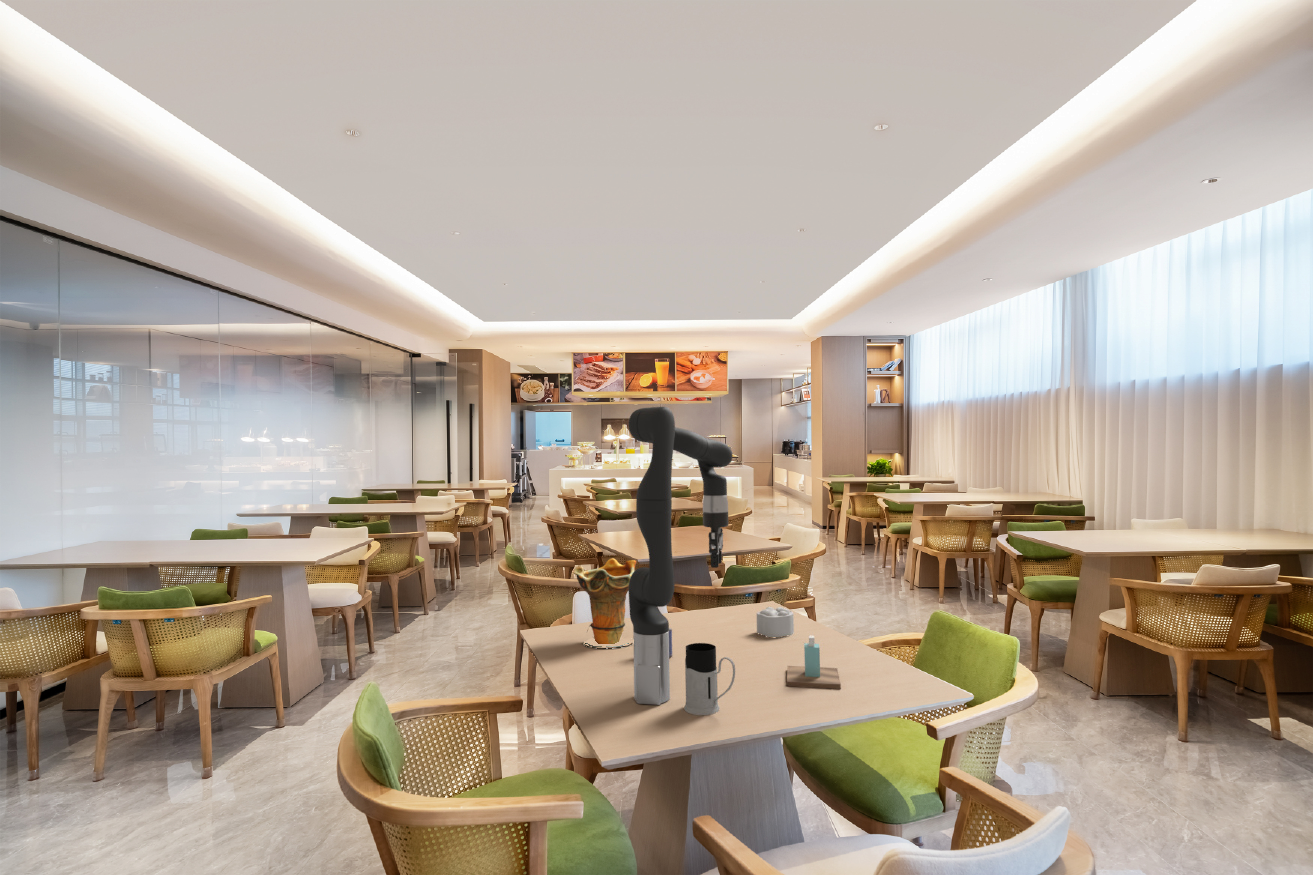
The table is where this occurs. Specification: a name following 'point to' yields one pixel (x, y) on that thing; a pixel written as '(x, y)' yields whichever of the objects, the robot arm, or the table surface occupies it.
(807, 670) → the teal bottle
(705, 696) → the glass holder
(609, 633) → the decorative vase
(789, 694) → the table surface
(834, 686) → the walnut board
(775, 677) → the table surface
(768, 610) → the lumpy-topped squat cylinder
